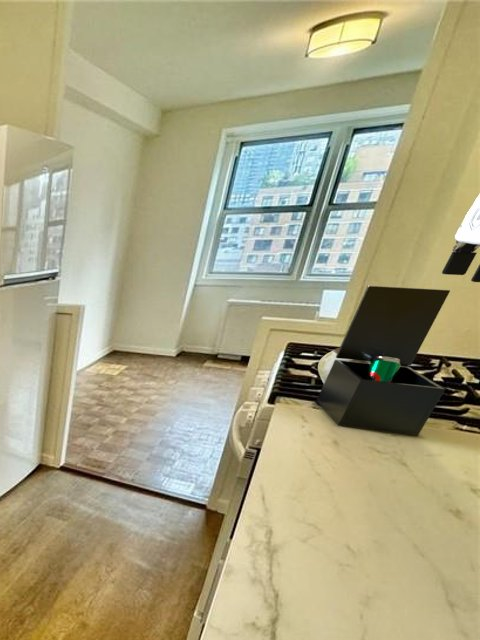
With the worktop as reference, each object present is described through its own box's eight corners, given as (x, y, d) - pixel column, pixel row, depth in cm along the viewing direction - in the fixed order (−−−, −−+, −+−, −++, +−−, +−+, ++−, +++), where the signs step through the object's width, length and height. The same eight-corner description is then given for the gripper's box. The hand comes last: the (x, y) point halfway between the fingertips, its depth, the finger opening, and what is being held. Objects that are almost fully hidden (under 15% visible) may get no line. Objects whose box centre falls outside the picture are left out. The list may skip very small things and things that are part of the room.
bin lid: (450, 290, 103) (438, 287, 107) (369, 286, 107) (360, 283, 112) (410, 365, 110) (400, 359, 114) (336, 358, 115) (329, 352, 119)
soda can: (382, 410, 108) (404, 358, 106) (351, 405, 111) (373, 354, 109) (379, 413, 112) (401, 362, 110) (350, 408, 115) (371, 359, 113)
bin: (417, 436, 103) (445, 389, 98) (338, 425, 108) (360, 379, 103) (385, 409, 116) (409, 366, 111) (315, 401, 121) (335, 359, 116)
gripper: (466, 172, 89) (417, 270, 97) (529, 169, 75) (466, 284, 83) (522, 172, 86) (467, 273, 94) (599, 168, 72) (527, 287, 80)
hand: (467, 278), depth 89 cm, fingers open, 9 cm apart
